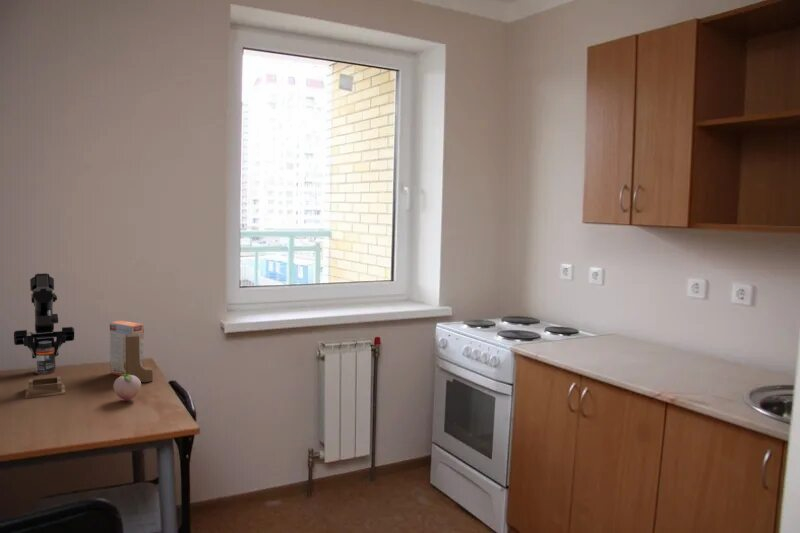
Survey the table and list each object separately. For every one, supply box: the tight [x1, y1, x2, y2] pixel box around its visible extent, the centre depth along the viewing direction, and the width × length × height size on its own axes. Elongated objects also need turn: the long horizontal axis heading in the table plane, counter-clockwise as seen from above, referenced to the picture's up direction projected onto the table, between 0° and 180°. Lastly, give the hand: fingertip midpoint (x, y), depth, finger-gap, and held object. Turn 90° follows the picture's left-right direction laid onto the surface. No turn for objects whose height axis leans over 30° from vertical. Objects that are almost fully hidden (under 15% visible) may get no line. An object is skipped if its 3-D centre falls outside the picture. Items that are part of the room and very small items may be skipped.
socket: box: [25, 376, 66, 399], centre depth 218 cm, size 12×12×4 cm
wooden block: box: [126, 334, 154, 383], centre depth 232 cm, size 9×4×18 cm, turn 118°
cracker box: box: [109, 320, 145, 377], centre depth 240 cm, size 14×6×21 cm, turn 58°
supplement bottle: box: [35, 341, 57, 376], centre depth 217 cm, size 6×6×11 cm
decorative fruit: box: [112, 372, 142, 402], centre depth 209 cm, size 9×8×10 cm
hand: (45, 355), depth 216 cm, fingers closed on supplement bottle, 6 cm apart
